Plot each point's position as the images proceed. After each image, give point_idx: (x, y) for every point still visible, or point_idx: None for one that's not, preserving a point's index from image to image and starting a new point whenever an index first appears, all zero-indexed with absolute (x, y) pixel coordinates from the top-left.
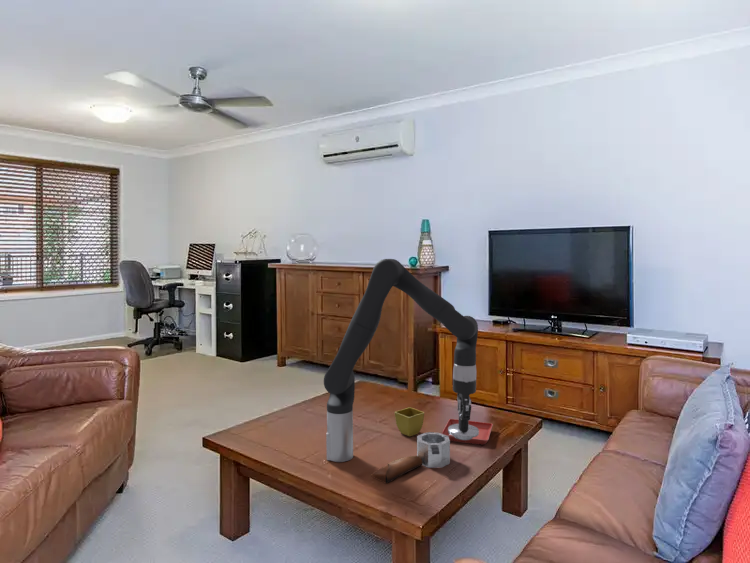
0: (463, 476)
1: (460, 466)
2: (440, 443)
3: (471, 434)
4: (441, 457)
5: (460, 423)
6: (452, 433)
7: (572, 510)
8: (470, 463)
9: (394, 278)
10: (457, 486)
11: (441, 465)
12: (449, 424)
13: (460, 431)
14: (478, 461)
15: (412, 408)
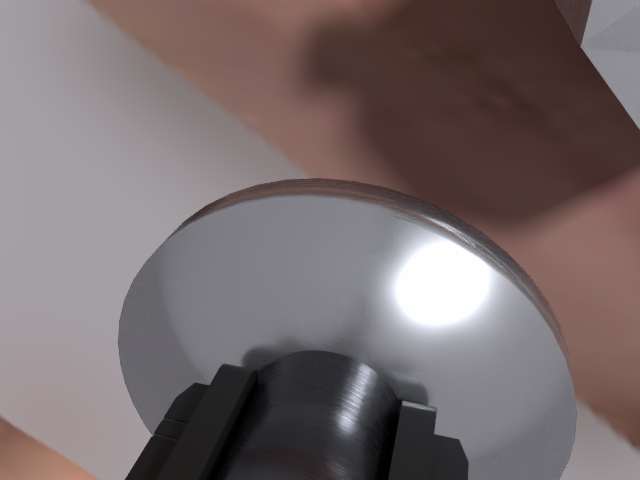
0: (364, 145)
1: (541, 171)
2: (633, 40)
3: (150, 424)
4: (564, 15)
5: (242, 443)
6: (190, 220)
7: (53, 468)
8: (577, 259)
9: None
10: (213, 60)
11: (555, 1)
12: None
13: (241, 346)
14: (597, 321)
15: None
